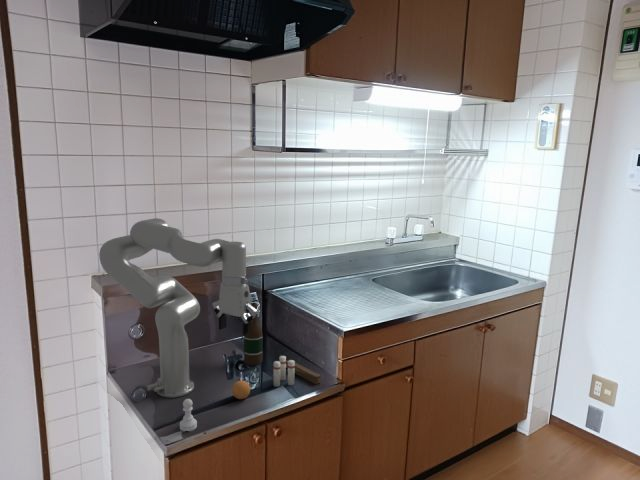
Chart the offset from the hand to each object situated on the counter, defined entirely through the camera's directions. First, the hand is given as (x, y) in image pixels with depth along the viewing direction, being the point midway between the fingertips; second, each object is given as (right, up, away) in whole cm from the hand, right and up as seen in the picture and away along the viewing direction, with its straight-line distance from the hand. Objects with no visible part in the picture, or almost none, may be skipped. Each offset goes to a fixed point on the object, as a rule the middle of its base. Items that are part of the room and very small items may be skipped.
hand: (234, 331), depth 160 cm
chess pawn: (-12, -27, -13) cm, 32 cm away
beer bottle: (+1, -19, +35) cm, 39 cm away
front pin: (+13, -22, +15) cm, 30 cm away
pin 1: (+14, -21, +20) cm, 32 cm away
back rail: (+21, -21, +23) cm, 38 cm away
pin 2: (+18, -22, +16) cm, 32 cm away
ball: (+1, -21, +5) cm, 21 cm away
